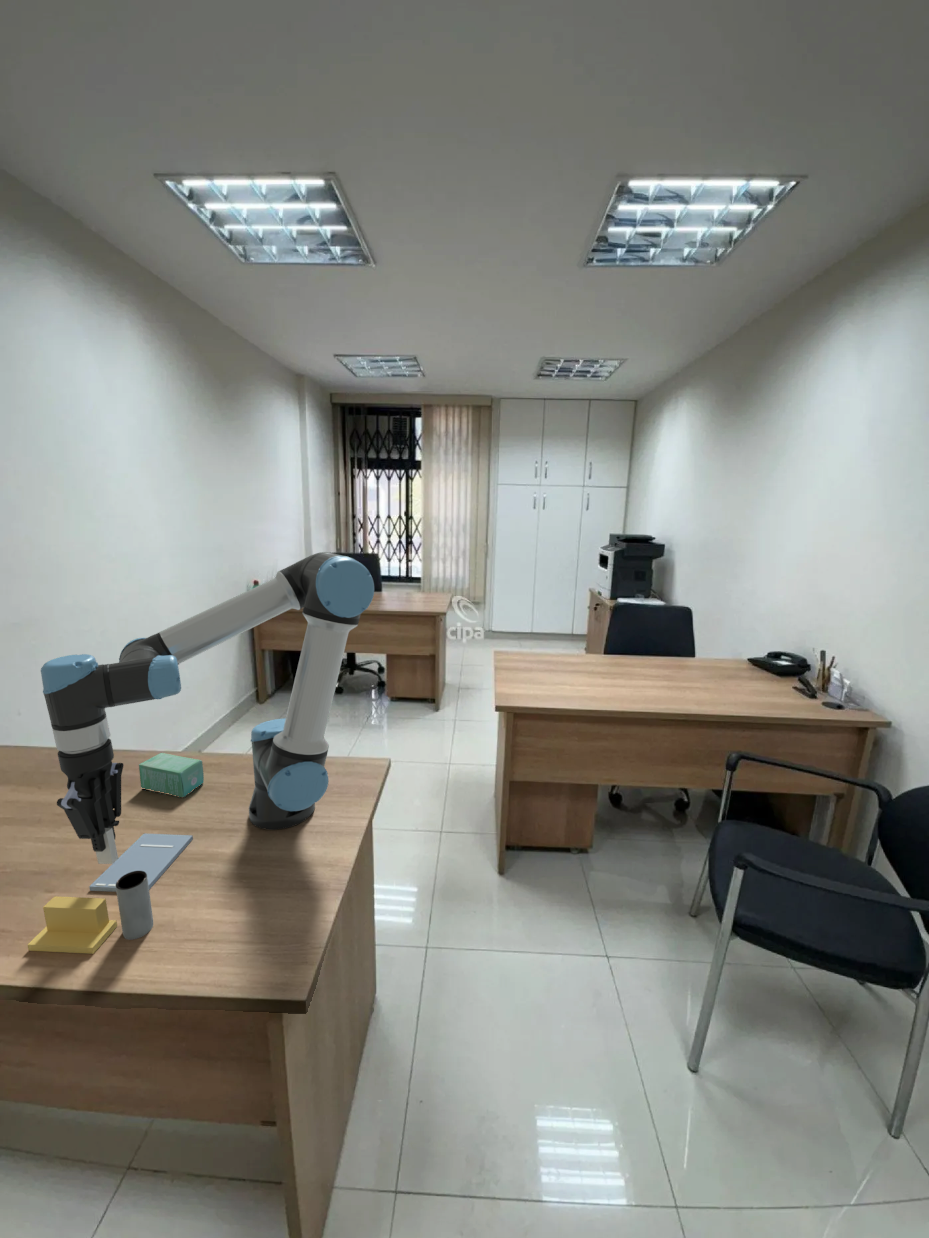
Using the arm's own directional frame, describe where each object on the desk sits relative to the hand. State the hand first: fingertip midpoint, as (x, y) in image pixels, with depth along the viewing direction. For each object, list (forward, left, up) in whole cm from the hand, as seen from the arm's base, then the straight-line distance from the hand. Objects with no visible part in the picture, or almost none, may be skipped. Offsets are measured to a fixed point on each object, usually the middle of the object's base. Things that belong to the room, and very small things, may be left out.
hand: (108, 860), depth 93 cm
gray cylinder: (-9, +6, -9) cm, 14 cm away
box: (+12, -38, -9) cm, 41 cm away
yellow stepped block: (+1, +9, -8) cm, 12 cm away
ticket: (+1, -10, -9) cm, 13 cm away
